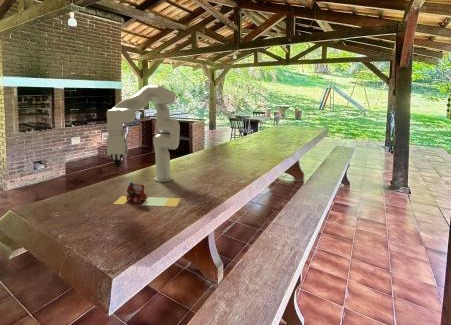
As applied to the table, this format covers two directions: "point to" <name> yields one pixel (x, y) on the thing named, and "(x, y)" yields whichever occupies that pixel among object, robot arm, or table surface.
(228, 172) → the table surface
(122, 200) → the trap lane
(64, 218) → the table surface
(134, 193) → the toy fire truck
